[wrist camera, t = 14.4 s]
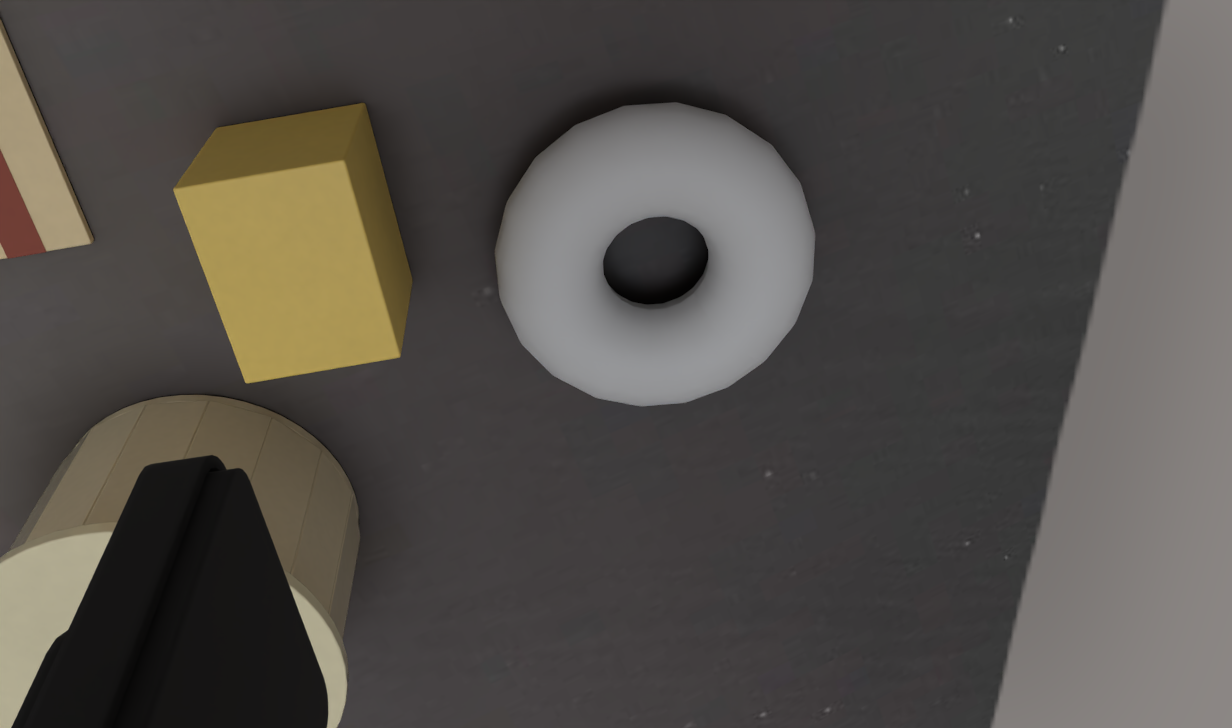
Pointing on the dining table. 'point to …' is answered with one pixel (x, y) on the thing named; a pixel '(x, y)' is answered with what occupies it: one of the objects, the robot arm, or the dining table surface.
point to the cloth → (31, 173)
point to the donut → (632, 191)
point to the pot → (241, 438)
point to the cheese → (299, 242)
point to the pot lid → (54, 587)
